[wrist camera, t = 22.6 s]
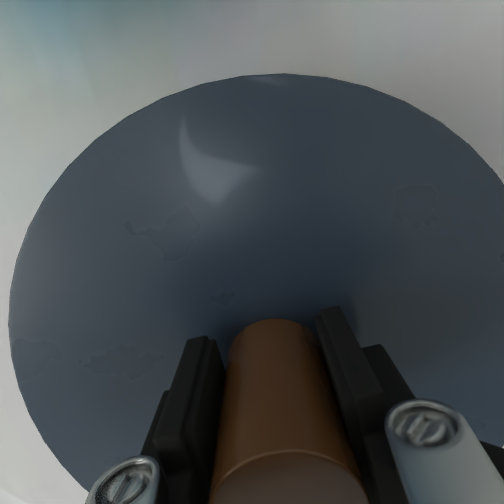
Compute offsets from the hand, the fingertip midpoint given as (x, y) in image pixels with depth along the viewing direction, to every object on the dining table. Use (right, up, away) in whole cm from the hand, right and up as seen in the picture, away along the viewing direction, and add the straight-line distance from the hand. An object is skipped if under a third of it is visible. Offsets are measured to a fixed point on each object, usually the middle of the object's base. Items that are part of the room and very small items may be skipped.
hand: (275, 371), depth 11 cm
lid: (0, 0, +1) cm, 1 cm away
